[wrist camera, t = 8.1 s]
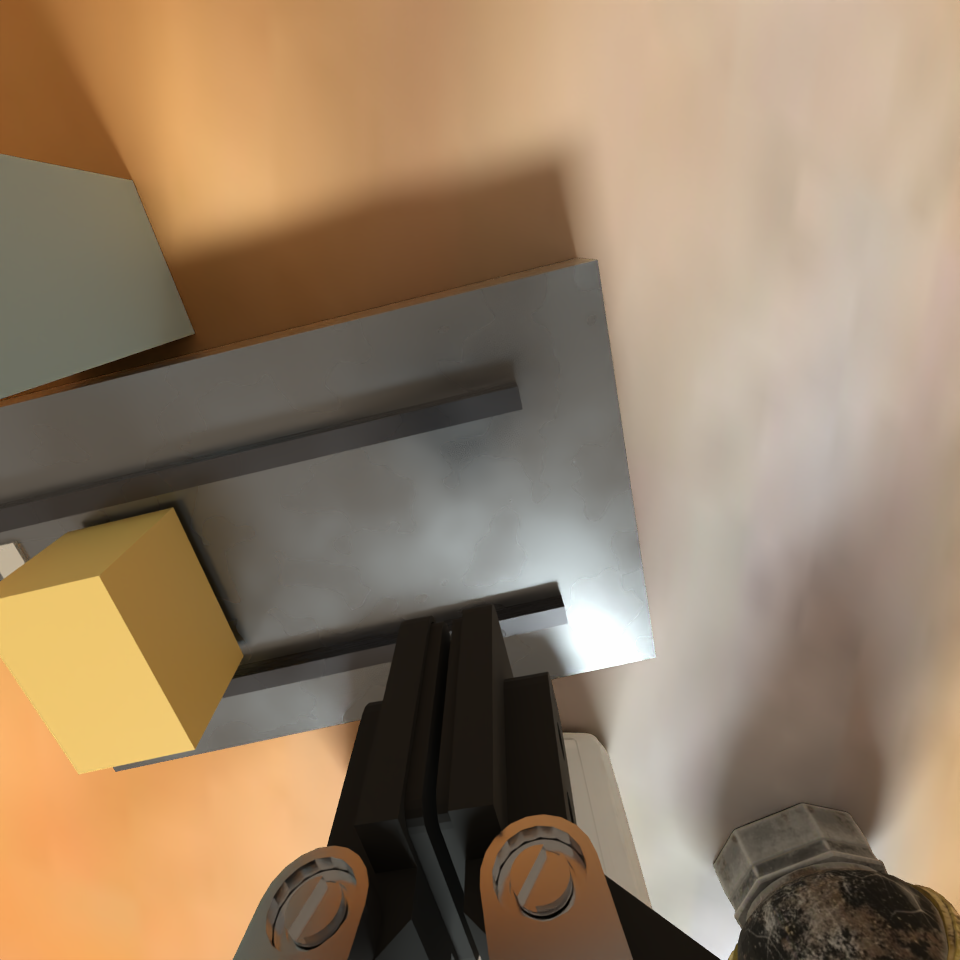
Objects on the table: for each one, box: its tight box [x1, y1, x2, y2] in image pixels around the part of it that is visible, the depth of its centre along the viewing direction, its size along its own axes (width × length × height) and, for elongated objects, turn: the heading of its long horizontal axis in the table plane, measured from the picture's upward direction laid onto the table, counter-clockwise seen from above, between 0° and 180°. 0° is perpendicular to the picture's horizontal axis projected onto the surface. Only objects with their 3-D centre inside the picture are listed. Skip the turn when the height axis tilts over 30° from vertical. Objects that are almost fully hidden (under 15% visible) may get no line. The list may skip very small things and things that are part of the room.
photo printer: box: [478, 733, 652, 960], centre depth 18 cm, size 10×4×12 cm, turn 96°
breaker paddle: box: [0, 507, 243, 774], centre depth 15 cm, size 3×5×4 cm, turn 13°
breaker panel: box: [0, 258, 656, 772], centre depth 18 cm, size 18×12×3 cm, turn 103°
